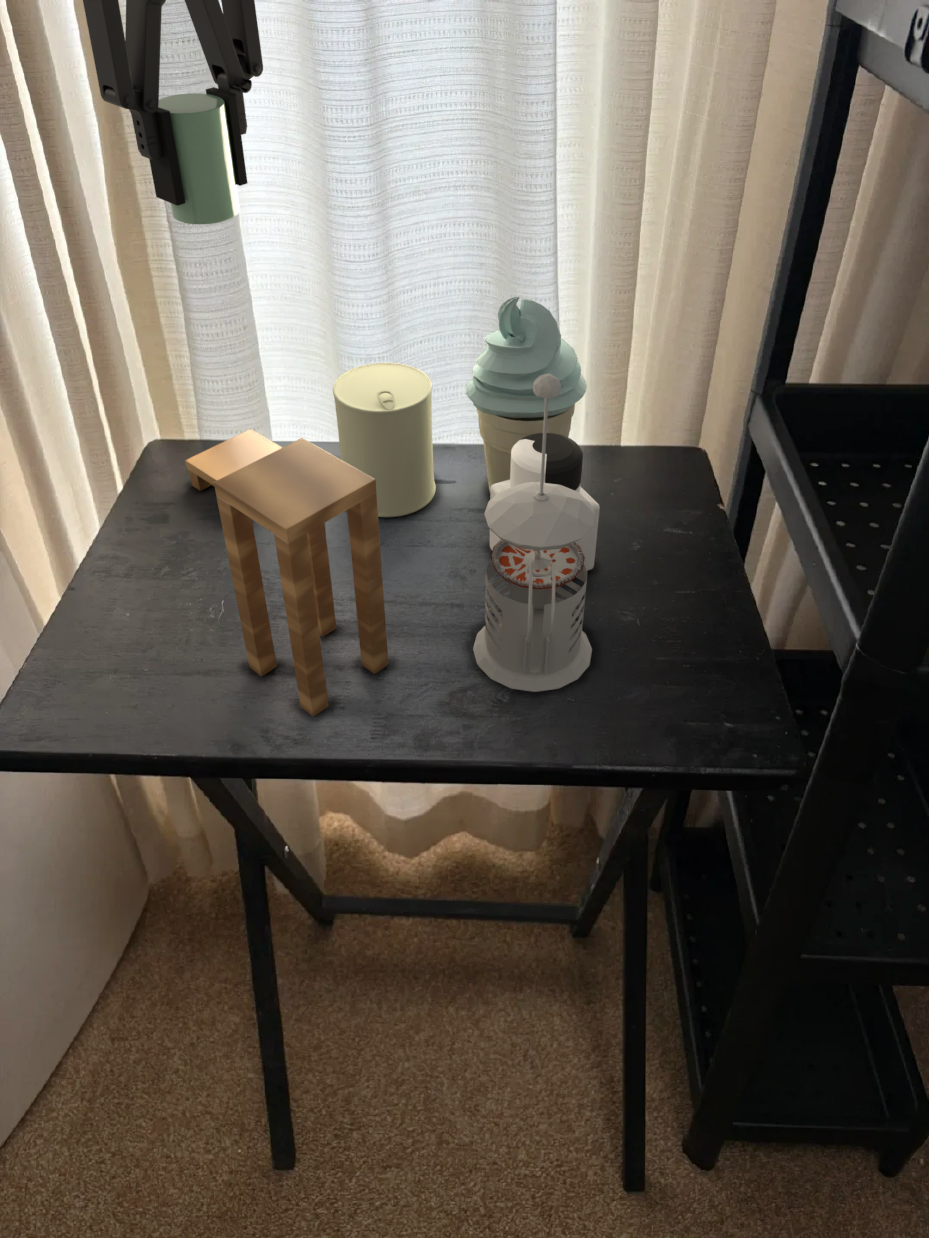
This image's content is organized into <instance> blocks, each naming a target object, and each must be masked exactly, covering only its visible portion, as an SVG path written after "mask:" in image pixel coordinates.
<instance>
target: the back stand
mask: <svg viewBox="0 0 929 1238" xmlns="http://www.w3.org/2000/svg"><path fill="white" fill-rule="evenodd" d="M281 448H283V447H282V446H281V445H279V444H277V443H275V442H274V441H272V440H270V439H269V438H267V437H265V436H264V435H262V434H260V433H259V432H257V431H255V430H253V429H252V428H249V429H247V430H245V431H243V432H241V433H239V434H237V435H235V436H233V437H231V438H229V439H226V440H224V441H222V442H220V443H218V444H216V445H214V446H212V447H210V448H208V449H206V450H204V451H201V452H200V453H197V454H195V455H192V456H191V457H188V458H187V459H185V460H184V461H185V466H186V469H187V470H188V473H189V478H190V483H191V486H192V487H194V488H195V489H196V490H198V491H200V492H201V491H203V490H206V489H207V488H209V487H211V486H213V487H215V486H214V482H215V481H217V480H219V479H221V478H223V477H225V476H227V475H229V474H231V473H233V472H235V471H237V470H239V469H241V468H243V467H245V466H247V465H249V464H251V463H253V462H255V461H257V460H259V459H261V458H263V457H265V456H267V455H269V454H271V453H273V452H275V451H277V450H279V449H281Z"/></svg>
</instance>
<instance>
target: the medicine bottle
mask: <svg viewBox="0 0 929 1238" xmlns="http://www.w3.org/2000/svg"><path fill="white" fill-rule="evenodd" d="M542 443H543V433H536V434H532V435H528V436H526V437H524V438H522V439H520V440H519V441H518V442H517V443H516V444H515V445H514V446H513V448H512V450H511V470H510V480H506V481H503V482H499V483H496V484H493V485H492V486H491V491H489V494H490V496H489V497H490V499H489V501H490V500H491V499H492V498H493V497H494V496H496V495H497V494H498V493H499V492H500V491H503V490H505V489H508V488H511V487H513V486H516V485H519V484H523V483H528V482H540V481H541V462H542ZM583 460H584V452H583V450H582V448H581V447H580V445H579V444H578V443H577V442H576V441H575V440H573V439H572V438H570V437H566V436H563V435H560V434H555V433H546V450H545V467H544V483H549V484H558V485H562V486H565V487H567V488H569V489H572V490H574V491H577V492H578V493H579V494H580V495H582V496H583V497H584V498H585V499H587V500H588V501H589V502H590V504H591V506H592V508H593V510H594V512H595V519H594V523H593V527H592V528H591V529H590V530H589V531H588V532H587V533H586V534H585V535H584V536H583V537H582V538H581V539H580V540H578V541H576V542H575V543H576V544H577V545H579V546H580V548H581V550H582V552H583V555H584V557H585V560H584V566H585V568H586V570H587V572H588V571H590V570H592V569H594V567H595V559H596V549H597V540H598V539H597V538H598V529H599V519H600V511H601V510H600V504H599V503H598V502H597V501H596V500H595V499H594V498H593V497H592V496H591V495H590V494H589V493H588V492H587V491H586V490H585V489H584V488H583V487H581V485H582V484H581V482H582V473H583V462H584V461H583ZM500 540H501V539H500V538H499V537H498V536H497V535H496V534H495V533H493V532H492V531H491V530H490V529H489V548H490V550H491V551H492V550H493V547H494V546H495V545H496V544H497V543H498V542H499V541H500Z"/></svg>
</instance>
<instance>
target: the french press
mask: <svg viewBox="0 0 929 1238" xmlns="http://www.w3.org/2000/svg"><path fill="white" fill-rule="evenodd" d="M533 392H534V394H535V395H537V396H539V397H542V398H545V406H544V425H543V443H542V462H541V481H540V482H528V483H523V484H519V485H516V486H513V487H511V488H508V489H505V490H503V491H500V492H499V493H498V494H497V495H496V496H494V497H493V498H492V499H491V500H490V499H489V501H488V502H487V505H486V508H485V510H484V513H483V514H484V518H485V520H486V523H487V527H488V528H489V531H490V530H491V531H492V532H493V533H495V534H496V535H497V536H498V537H499V538H500V539H501V540H500V541H499V542H498V543H497V544H496V545H495V546H494V547H493V550H491V554H490V560H489V562H488V565H487V567H486V570H485V586H486V588H485V589H484V591H485V599H486V601H485V602H484V605H485V606H484V608H485V609H484V610H485V614H484V621H485V625H484V626H483V627H482V628H481V630H479V631H478V632H477V634H476V637H475V641H474V645H473V647H472V651H473V654H474V658H475V661H476V665H477V666H478V667H479V669H480V670H481V671H483V672H484V673H485V674H486V675H487V677H488V678H489V679H490V680H492V681H494V682H496V683H499V684H501V685H502V686H505V687H507V688H509V689H512V690H519V691H526V692H533V693H537V692H545V691H551V690H558V689H561V688H563V687H566V686H567V685H569V684H570V683H573V682H575V681H577V680H579V678H580V677H581V676H582V675H583V674H584V672H586V670H587V669H588V668H589V667H590V665H591V658H592V652H593V648H592V646H591V643H590V641H589V638H588V636H587V634H586V632H585V631H583V624H584V612H585V602H586V601H585V600H586V592H587V582H588V571H587V570H586V568H585V566H584V560H585V557H584V555H583V552H582V550H581V548H580V546H579V545H577V544H576V543H575V542H576V541H578V540H580V539H581V538H582V537H583V536H584V535H585V534H586V533H587V532H588V531H589V530H590V529H591V528H592V527H593V523H594V519H595V512H594V510H593V508H592V506H591V504H590V502H589V501H588V500H587V499H585V498H584V497H583V496H582V495H580V494H579V493H578V492H577V491H574V490H572V489H569V488H567V487H565V486H562V485H558V484H549V483H544V467H545V450H546V432H547V415H548V398H554V397H556V396H558V395H559V394H560V392H561V383H560V380H559V379H557V378H556V377H554V376H553V375H551V374H550V373H549V374H545V375H541V376H539V377H538V378H537V379H536V380H535V381H534V383H533ZM497 575H499V576H500V578H499V579H497V580H495V581H493V582H492V583H491V582H490V580H491V579H492V578H494V577H496V576H497ZM575 578H576V579H578V580H580V581H581V582H582V583H584V584H583V585H582V586H581V585H579V584H577V583H575V582H574V581H573V580H574V579H575ZM506 582H508V583H509V584H508V585H507V586H506V585H505V587H503V588H501V589H500V590H496V588H498V587H500V586H502V585H503V584H505V583H506ZM563 585H565V586H567V587H569V588H570V589H571V590H574V591H575V592H576V593H575V594H572V593H571V592H569V591H567V590H566V589H565V588H562V587H561V586H563ZM508 592H509V596H505V594H507V593H508ZM556 593H558V594H559V595H562V596H563V597H564V598H565V599H563V600H562V599H560V598H559V597H557V596H556ZM489 595H490V596H489ZM583 597H584V598H583ZM493 602H494V603H495V605H494V604H493ZM488 606H489V607H490V608H489V607H488ZM578 606H579V607H578ZM577 607H578V609H577ZM499 609H500V611H501V612H499V611H498V610H499ZM582 609H583V610H582ZM581 611H582V612H581ZM492 614H493V615H494V616H493V615H492ZM577 618H578V619H577ZM488 619H489V620H488ZM576 619H577V620H576Z"/></svg>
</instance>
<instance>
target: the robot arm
mask: <svg viewBox="0 0 929 1238" xmlns="http://www.w3.org/2000/svg"><path fill="white" fill-rule="evenodd" d="M166 1H167V0H125V30H124V25H123V20H122V14H121V8H120V7H121V6H120V2H119V0H82V4H83V9H84V13H85V19H86V24H87V29H88V35H89V40H90V46H91V51H92V56H93V61H94V67H95V71H96V77H97V83H98V87H99V88H98V89H99V93H100V96H101V99H102V100H103V101H104V102H105V103H108V104H111V105H113V106H117V107H119V108H123V109H125V110H128V111H129V113H130V115H131V121H132V125H133V130H134V135H135V141H136V144H137V145H136V146H137V150H138V152H139V154H140V156H141V157H144V158H145V159H148V161H149V167H150V171H151V176H152V180H153V187H154V192H155V197H156V198H158V199H160V200H163V201H165V202H168V203H172V204H174V205H177V206H178V205H181V204H184V203H185V197H184V192H183V186H182V180H181V174H180V168H179V163H178V157H177V151H176V145H175V139H174V133H173V128H172V122H171V116H170V111H168V110H165V109H162V108H159V107H158V105H159V100H160V72H161V69H160V68H161V44H162V43H161V42H162V41H161V40H162V12H163V11H162V9H163V6H164V5H165V3H166ZM220 3H221V4H220ZM184 4H185V6H186V9H187V11H188V14H189V17H190V20H191V22H192V25H193V27H194V31H195V33H196V36H197V38H198V41H199V44H200V47H201V49H202V52H203V55H204V58H205V61H206V63H207V67H208V69H209V71H210V74H211V77H212V80H213V83H214V84H216V85H217V87H215V86H213V87H209V88H205V94H210V95H214V96H218V97H220V98H222V99H223V100H224V102H225V109H226V116H227V123H228V131H229V138H230V145H231V152H232V159H233V167H234V174H235V181H236V186H239V187H241V186H244V185H247V184H248V175H247V169H246V168H247V167H246V161H245V154H244V145H243V138H242V136H243V135H246V134H247V132H248V131H247V130H248V122H247V121H248V120H247V113H246V106H245V105H246V104H245V98H244V94H247V93H249V92H250V91H251V89H252V86H253V82H252V80H251V79H252V78H253V77H255V78H259V77H260V76H261V75H262V74H263V71H264V61H263V54H262V46H261V39H260V31H259V25H258V17H257V16H258V15H257V10H256V9H257V8H256V2H255V0H220V1H219V0H184ZM124 31H125V32H124Z"/></svg>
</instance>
